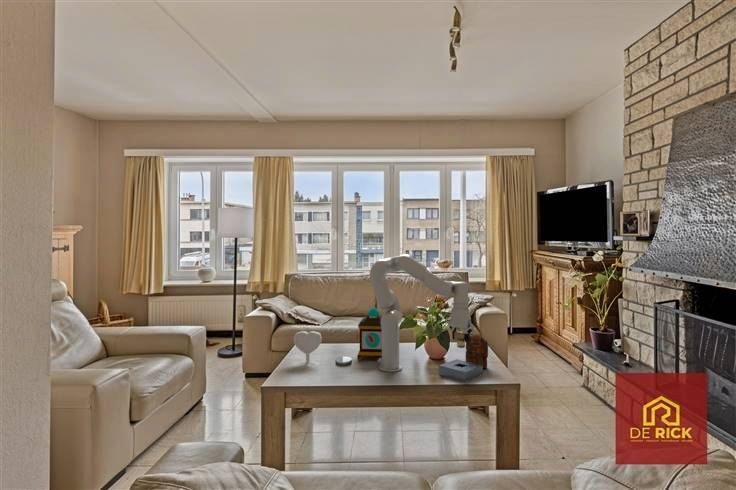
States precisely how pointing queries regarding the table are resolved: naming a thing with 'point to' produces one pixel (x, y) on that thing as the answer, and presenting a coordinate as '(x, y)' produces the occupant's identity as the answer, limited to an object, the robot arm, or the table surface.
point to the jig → (460, 370)
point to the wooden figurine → (477, 350)
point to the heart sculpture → (307, 344)
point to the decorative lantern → (370, 335)
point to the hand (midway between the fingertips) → (460, 339)
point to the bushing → (460, 338)
